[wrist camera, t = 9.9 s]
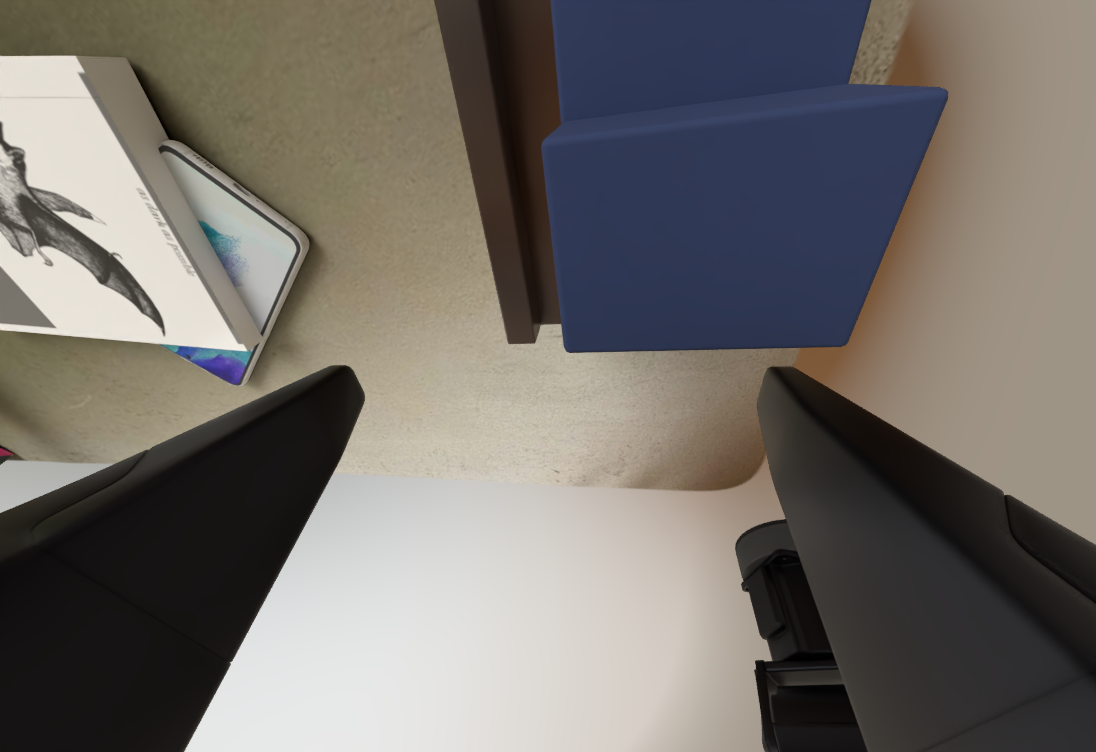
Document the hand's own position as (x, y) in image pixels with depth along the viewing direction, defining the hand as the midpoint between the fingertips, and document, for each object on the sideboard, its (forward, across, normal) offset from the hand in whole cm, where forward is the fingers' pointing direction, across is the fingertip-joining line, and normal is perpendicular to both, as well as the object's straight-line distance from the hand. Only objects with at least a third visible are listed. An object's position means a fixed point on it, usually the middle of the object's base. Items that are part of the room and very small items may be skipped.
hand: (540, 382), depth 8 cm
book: (+12, +31, -2) cm, 34 cm away
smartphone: (+12, +22, +2) cm, 25 cm away
